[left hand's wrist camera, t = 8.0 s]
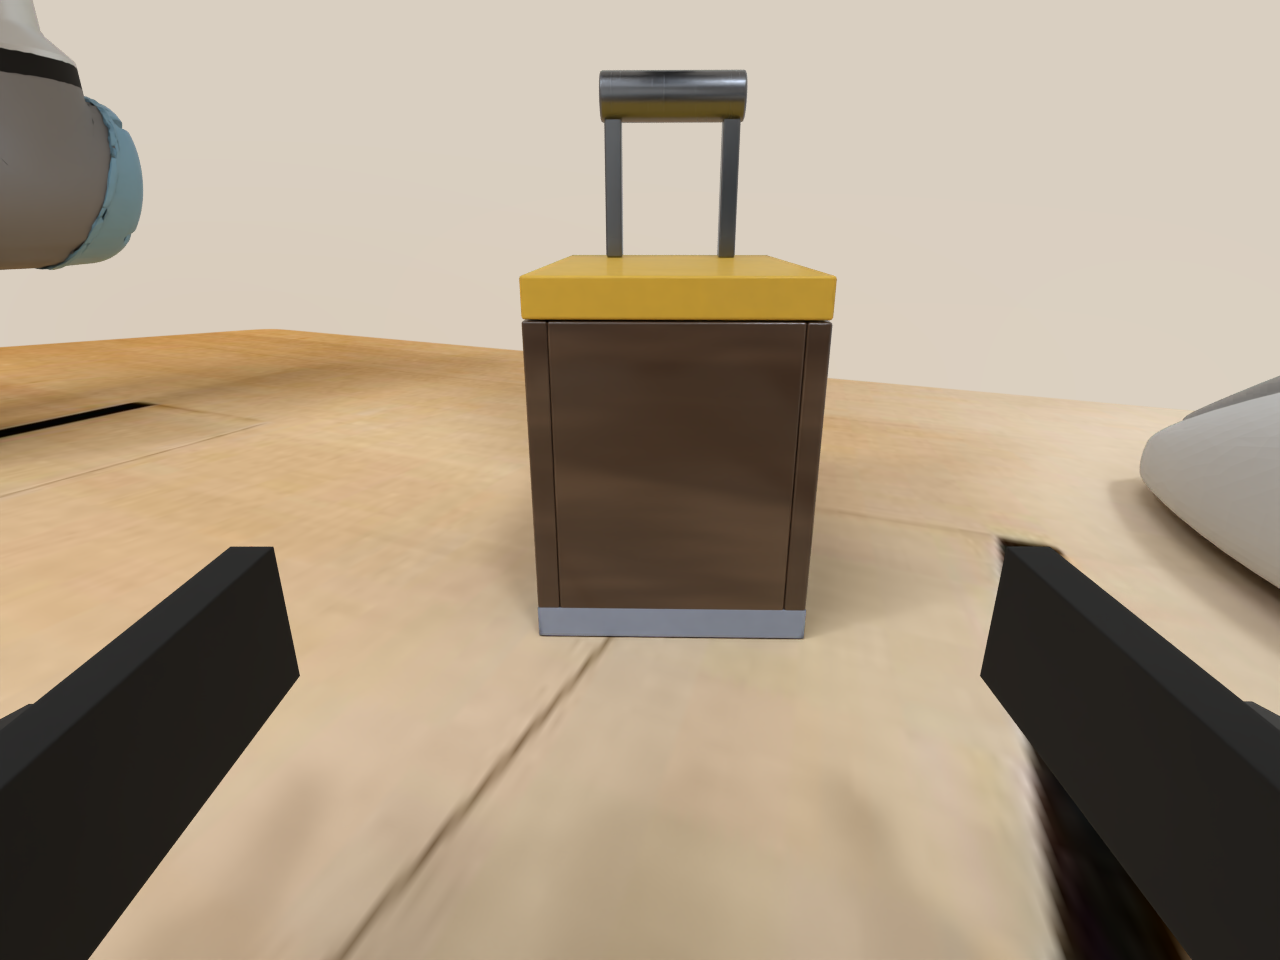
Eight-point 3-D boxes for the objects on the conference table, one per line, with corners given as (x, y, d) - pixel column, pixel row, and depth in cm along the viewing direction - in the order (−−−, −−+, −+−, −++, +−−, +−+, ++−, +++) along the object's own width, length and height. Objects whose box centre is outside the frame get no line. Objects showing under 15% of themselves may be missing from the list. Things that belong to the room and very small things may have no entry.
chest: (577, 500, 37) (570, 285, 33) (755, 501, 36) (768, 285, 33) (539, 635, 25) (521, 321, 21) (803, 638, 24) (833, 322, 21)
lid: (571, 282, 33) (565, 81, 30) (766, 283, 33) (778, 80, 30) (520, 319, 21) (501, -17, 18) (833, 320, 21) (866, -20, 18)
